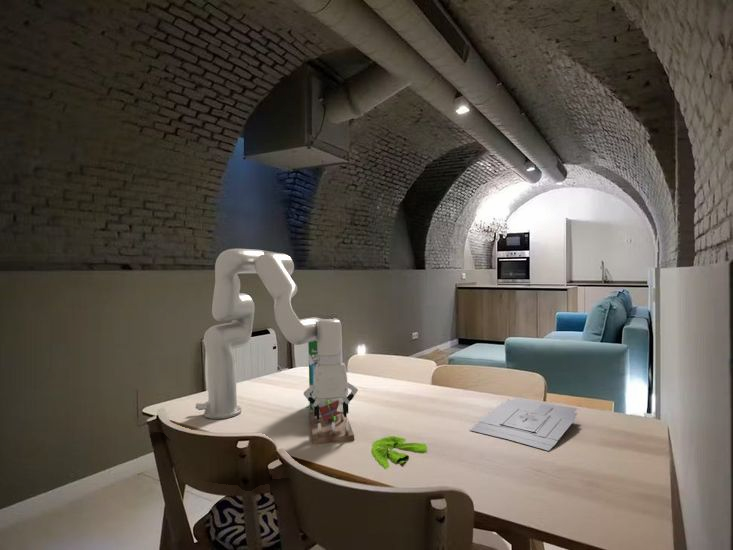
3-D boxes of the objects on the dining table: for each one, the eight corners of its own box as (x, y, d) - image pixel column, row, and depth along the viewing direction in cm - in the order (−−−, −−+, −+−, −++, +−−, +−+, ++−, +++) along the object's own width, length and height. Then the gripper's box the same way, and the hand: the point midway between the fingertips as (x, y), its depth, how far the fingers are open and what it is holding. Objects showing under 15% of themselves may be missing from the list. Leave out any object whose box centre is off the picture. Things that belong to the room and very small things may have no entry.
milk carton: (338, 402, 164) (337, 336, 164) (334, 410, 155) (332, 340, 155) (315, 402, 165) (313, 336, 165) (309, 409, 156) (308, 340, 156)
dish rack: (313, 443, 125) (313, 438, 125) (309, 415, 150) (309, 411, 150) (354, 440, 127) (354, 435, 127) (343, 412, 152) (343, 408, 152)
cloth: (390, 434, 133) (389, 427, 133) (454, 452, 119) (454, 443, 119) (345, 458, 117) (345, 449, 117) (413, 481, 103) (413, 471, 103)
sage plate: (311, 418, 143) (311, 384, 143) (311, 417, 144) (310, 384, 144) (344, 415, 145) (344, 382, 144) (344, 414, 146) (343, 381, 146)
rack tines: (318, 437, 126) (317, 423, 126) (313, 411, 150) (313, 399, 150) (348, 434, 128) (348, 421, 127) (339, 409, 151) (339, 398, 151)
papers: (584, 417, 139) (583, 407, 138) (550, 460, 117) (549, 447, 116) (511, 403, 155) (510, 393, 155) (469, 438, 133) (468, 427, 133)
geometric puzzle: (312, 417, 130) (327, 396, 129) (316, 410, 136) (330, 390, 136) (332, 431, 129) (347, 410, 129) (334, 423, 136) (348, 403, 136)
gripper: (301, 364, 127) (303, 423, 128) (360, 360, 130) (361, 418, 131) (301, 359, 135) (302, 415, 135) (356, 355, 138) (357, 410, 138)
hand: (331, 416), depth 133 cm, fingers closed on geometric puzzle, 7 cm apart
